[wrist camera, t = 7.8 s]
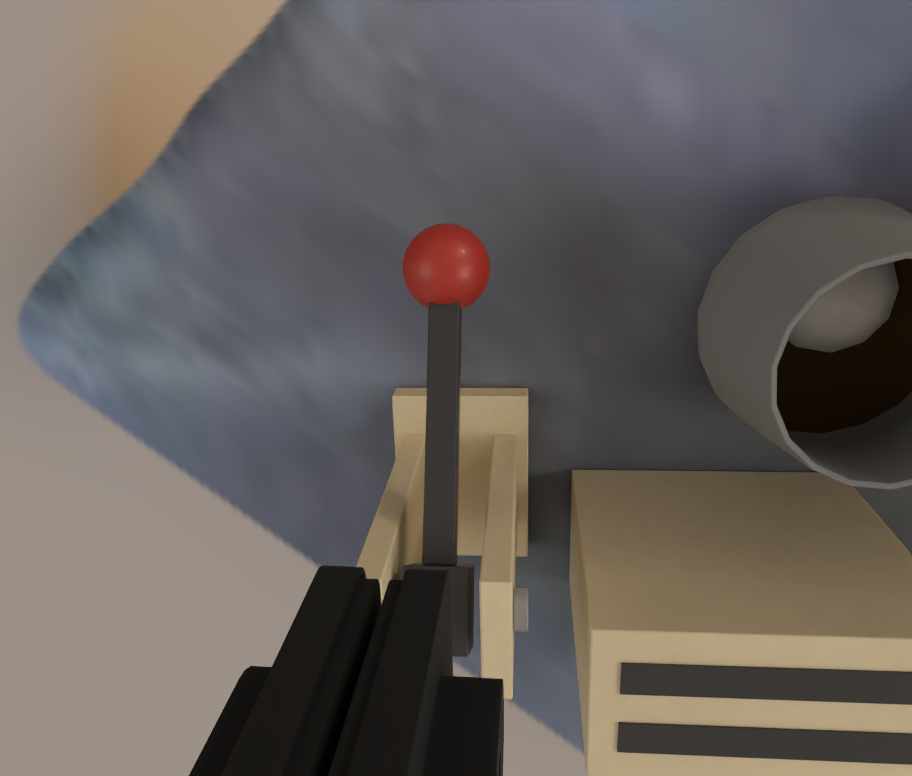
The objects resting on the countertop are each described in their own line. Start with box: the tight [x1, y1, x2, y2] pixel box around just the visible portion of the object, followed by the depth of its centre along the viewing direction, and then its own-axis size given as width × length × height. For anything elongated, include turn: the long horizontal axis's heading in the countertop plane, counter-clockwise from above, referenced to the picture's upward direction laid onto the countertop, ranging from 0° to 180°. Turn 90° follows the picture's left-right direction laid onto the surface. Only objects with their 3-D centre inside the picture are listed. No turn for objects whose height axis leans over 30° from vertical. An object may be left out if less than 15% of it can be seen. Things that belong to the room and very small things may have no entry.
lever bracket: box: [356, 388, 528, 699], centre depth 31 cm, size 8×6×13 cm
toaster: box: [569, 470, 912, 776], centre depth 31 cm, size 6×12×12 cm, turn 92°
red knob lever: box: [402, 224, 490, 657], centre depth 28 cm, size 15×3×3 cm, turn 0°
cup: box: [698, 195, 912, 490], centre depth 28 cm, size 10×9×10 cm
